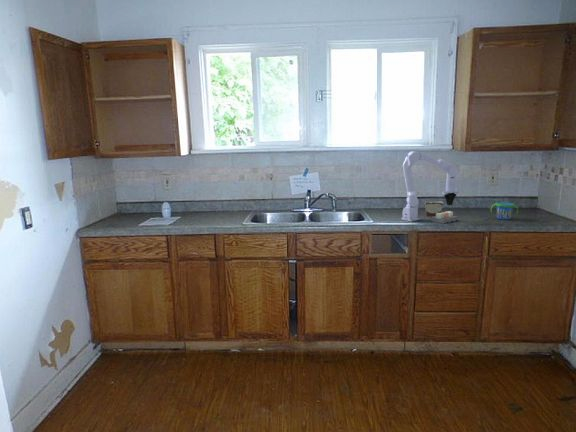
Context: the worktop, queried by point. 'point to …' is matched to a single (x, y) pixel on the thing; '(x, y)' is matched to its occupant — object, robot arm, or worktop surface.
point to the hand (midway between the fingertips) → (449, 204)
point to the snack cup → (504, 210)
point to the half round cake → (433, 208)
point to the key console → (444, 219)
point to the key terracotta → (445, 214)
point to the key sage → (439, 215)
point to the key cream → (450, 214)
